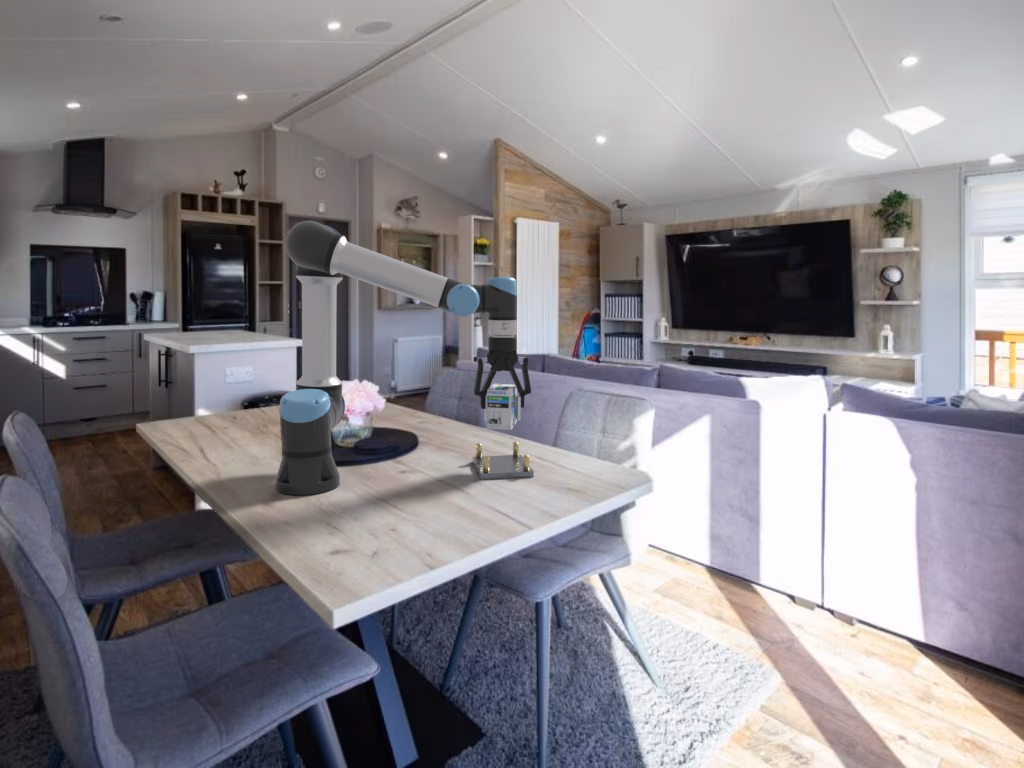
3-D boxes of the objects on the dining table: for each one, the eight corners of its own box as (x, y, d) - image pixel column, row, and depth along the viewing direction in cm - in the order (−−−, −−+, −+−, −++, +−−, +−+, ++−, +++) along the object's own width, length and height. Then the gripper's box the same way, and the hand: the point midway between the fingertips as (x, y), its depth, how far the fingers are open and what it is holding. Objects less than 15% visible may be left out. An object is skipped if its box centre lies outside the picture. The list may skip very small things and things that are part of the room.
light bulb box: (511, 430, 166) (512, 390, 164) (486, 429, 167) (486, 389, 165) (517, 422, 176) (517, 384, 175) (493, 421, 177) (493, 383, 176)
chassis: (480, 479, 164) (480, 458, 163) (472, 461, 180) (472, 442, 179) (533, 476, 166) (533, 456, 166) (520, 459, 183) (520, 441, 182)
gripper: (464, 337, 162) (465, 424, 166) (544, 336, 166) (543, 421, 170) (461, 335, 170) (462, 418, 173) (537, 334, 173) (536, 416, 177)
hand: (502, 420), depth 171 cm, fingers closed on light bulb box, 8 cm apart
